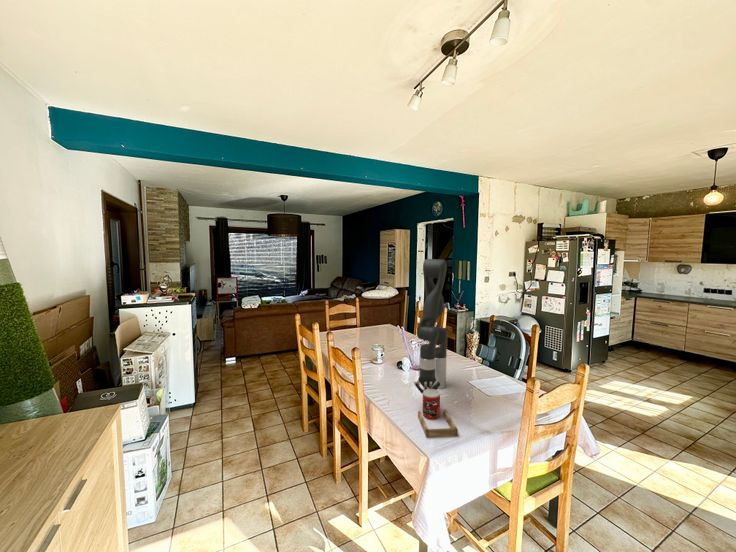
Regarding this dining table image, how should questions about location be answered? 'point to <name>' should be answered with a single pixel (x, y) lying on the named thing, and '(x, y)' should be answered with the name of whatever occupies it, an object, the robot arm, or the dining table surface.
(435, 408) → the canned food
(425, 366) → the robot arm
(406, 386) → the dining table surface
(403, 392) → the dining table surface
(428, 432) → the corral
